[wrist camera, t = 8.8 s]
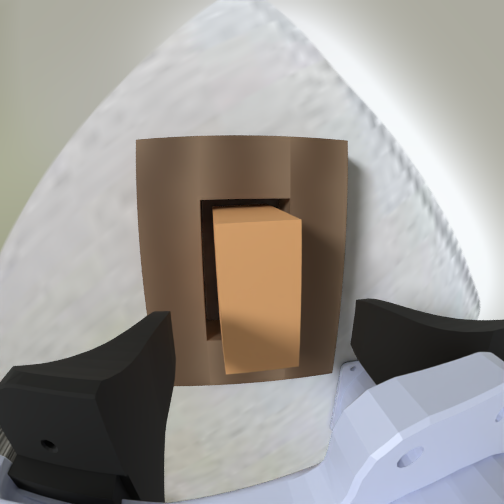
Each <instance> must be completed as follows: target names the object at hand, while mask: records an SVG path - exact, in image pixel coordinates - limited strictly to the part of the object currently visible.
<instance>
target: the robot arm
mask: <svg viewBox="0 0 504 504" xmlns="http://www.w3.org/2000/svg"><path fill="white" fill-rule="evenodd" d="M351 346H352V348H353V351H354V353H355V355H356V357H357V358H358V360H359V361H354V362H348V363H345V364H343V365H342V366H341V370H340V376H339V382H338V388H337V393H336V399H335V404H334V410H333V415H332V420H331V425H330V429H331V430H332V434H331V438H330V442H329V447H328V451H327V453H326V456H325V458H324V460H323V461H322V462H320V463H319V464H317V465H314V466H311V467H309V468H306V469H303V470H301V471H298V472H295V473H292V474H289V475H286V476H283V477H280V478H277V479H274V480H271V481H267V482H264V483H261V484H257V485H253V486H250V487H246V488H242V489H238V490H234V491H230V492H226V493H221V494H217V495H212V496H207V497H202V498H197V499H191V500H185V501H178V502H171V503H165V498H164V448H165V430H166V423H167V417H168V412H169V407H170V402H171V397H172V392H173V387H174V381H175V370H176V354H175V346H174V338H173V330H172V321H171V311H154V312H152V313H150V314H149V315H148V316H146V317H145V318H143V319H142V320H141V321H139V322H138V323H137V324H135V325H134V326H132V327H131V328H130V329H128V330H127V331H125V332H123V333H122V334H120V335H119V336H117V337H116V338H114V339H112V340H111V341H109V342H107V343H105V344H103V345H101V346H99V347H97V348H94V349H92V350H90V351H87V352H84V353H81V354H78V355H76V356H73V357H69V358H66V359H62V360H58V361H53V362H48V363H42V364H34V365H24V366H13V367H12V368H11V369H10V371H9V372H8V373H7V374H6V376H5V377H4V378H3V379H2V381H1V382H0V427H1V429H2V430H3V432H4V434H5V436H6V437H7V439H8V441H9V442H10V444H11V446H12V447H13V449H14V450H15V452H16V454H17V455H16V457H15V459H14V461H13V463H12V462H11V461H10V460H9V459H7V458H6V457H4V456H2V455H0V504H504V320H482V321H481V320H464V319H455V318H449V317H443V316H437V315H433V314H429V313H425V312H421V311H417V310H413V309H410V308H406V307H403V306H400V305H396V304H393V303H389V302H386V301H382V300H377V299H360V300H356V308H355V316H354V324H353V331H352V338H351ZM353 366H354V367H353ZM351 367H353V368H352V369H351Z"/></svg>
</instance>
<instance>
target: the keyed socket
mask: <svg viewBox="0 0 504 504" xmlns="http://www.w3.org/2000/svg"><path fill="white" fill-rule="evenodd" d="M347 183H348V141H345V140H334V139H321V138H306V137H286V136H244V135H229V136H187V137H167V138H152V139H139V140H136V185H137V211H138V228H139V242H140V255H141V266H142V276H143V285H144V294H145V302H146V310H147V316H148V315H149V314H150V313H152V312H154V311H171V321H172V330H173V338H174V346H175V354H176V370H175V381H174V386H203V385H225V384H241V383H254V382H265V381H275V380H285V379H293V378H301V377H309V376H316V375H323V374H329V373H332V370H333V363H334V356H335V349H336V341H337V333H338V324H339V315H340V305H341V295H342V283H343V271H344V256H345V240H346V219H347ZM270 198H279V210H282V211H284V212H286V213H288V214H290V215H292V216H295V217H297V218H299V219H301V223H302V265H301V321H300V350H299V366H298V367H290V368H283V369H275V370H267V371H258V372H248V373H237V374H226V371H225V363H224V354H223V345H222V335H221V325H220V320H207V319H206V303H205V285H204V265H203V241H202V209H201V200H213V199H270Z"/></svg>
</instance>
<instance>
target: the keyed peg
mask: <svg viewBox="0 0 504 504" xmlns="http://www.w3.org/2000/svg"><path fill="white" fill-rule="evenodd" d="M212 211H213V230H214V247H215V263H216V277H217V291H218V305H219V316H220V325H221V335H222V345H223V354H224V363H225V371H226V374H237V373H248V372H258V371H267V370H275V369H283V368H290V367H298V366H299V350H300V321H301V265H302V223H301V219H299V218H297V217H295V216H292V215H290V214H288V213H286V212H284V211H282V210H279V209H277V208H275V207H273V206H271V205H268V204H246V205H227V206H212Z"/></svg>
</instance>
